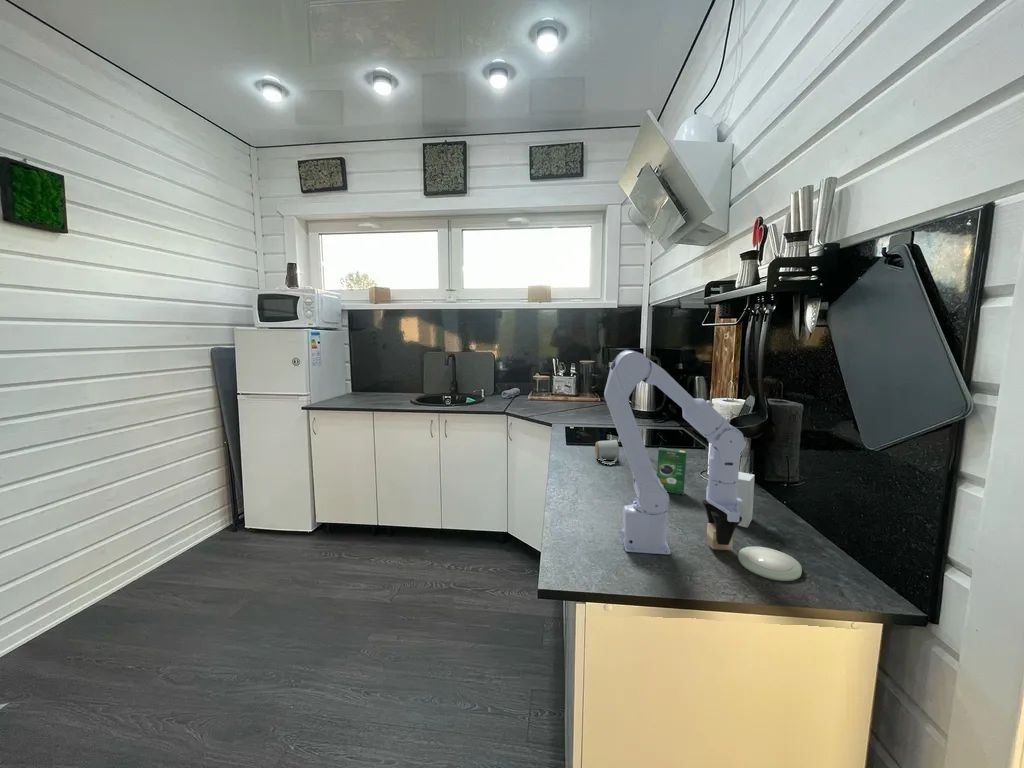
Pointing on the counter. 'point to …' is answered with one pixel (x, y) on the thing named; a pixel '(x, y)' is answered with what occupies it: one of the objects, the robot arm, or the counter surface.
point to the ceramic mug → (607, 450)
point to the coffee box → (672, 469)
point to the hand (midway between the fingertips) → (719, 538)
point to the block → (713, 540)
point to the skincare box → (745, 497)
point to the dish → (770, 563)
